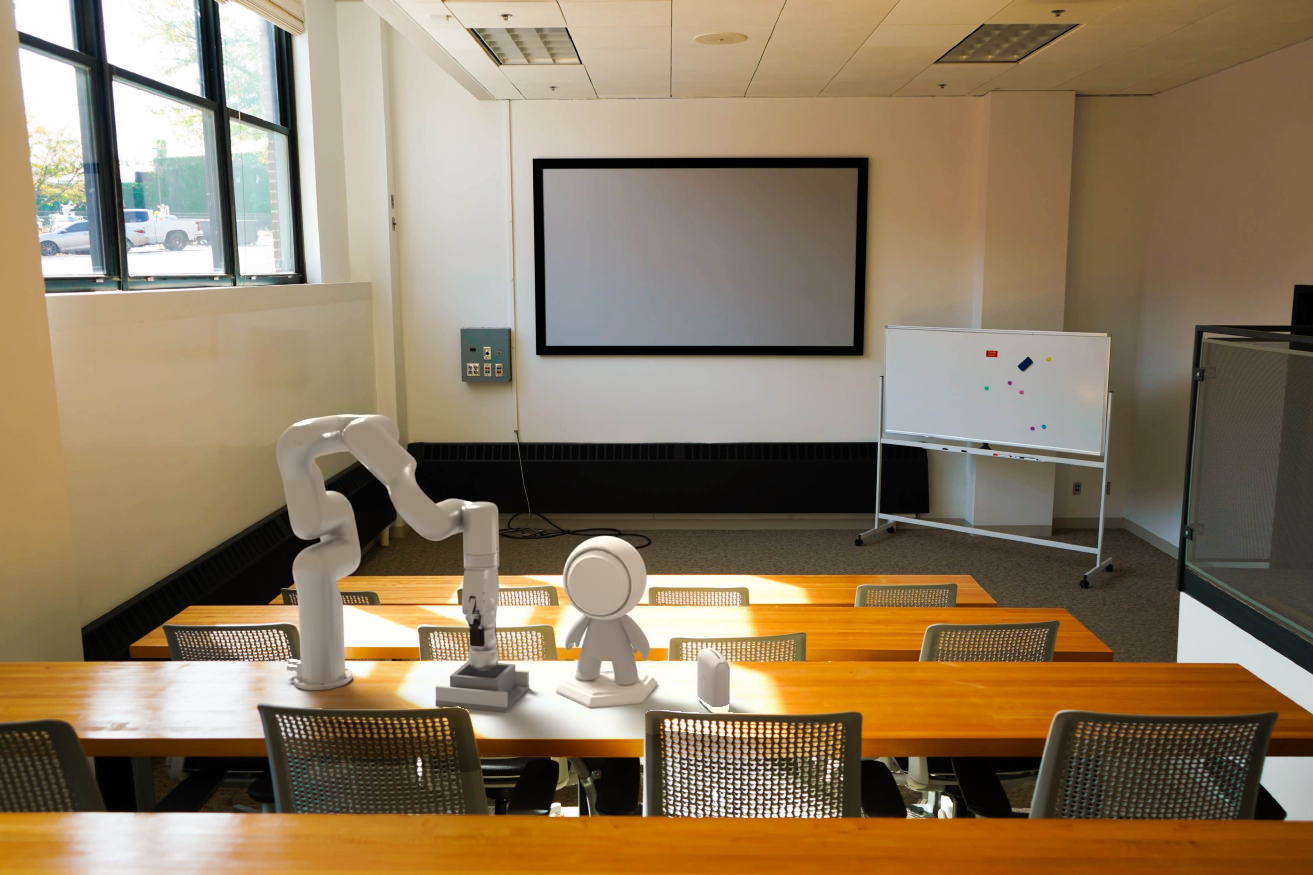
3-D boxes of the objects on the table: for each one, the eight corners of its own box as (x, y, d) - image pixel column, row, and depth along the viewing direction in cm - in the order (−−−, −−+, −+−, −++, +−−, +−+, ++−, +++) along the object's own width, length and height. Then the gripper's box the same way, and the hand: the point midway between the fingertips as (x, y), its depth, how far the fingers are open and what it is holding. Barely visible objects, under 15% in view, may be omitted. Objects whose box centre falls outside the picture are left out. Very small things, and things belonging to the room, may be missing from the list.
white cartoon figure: (545, 702, 209) (544, 543, 205) (583, 666, 231) (583, 522, 227) (633, 713, 204) (634, 550, 200) (664, 675, 226) (665, 528, 221)
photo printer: (694, 699, 212) (695, 644, 210) (712, 696, 213) (713, 642, 212) (713, 717, 202) (714, 659, 201) (732, 714, 204) (732, 657, 202)
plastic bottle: (502, 664, 215) (500, 576, 212) (494, 675, 208) (492, 584, 206) (473, 663, 215) (472, 575, 213) (464, 674, 209) (462, 583, 206)
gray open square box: (435, 705, 207) (435, 678, 207) (462, 681, 221) (462, 656, 220) (505, 712, 204) (505, 684, 203) (529, 688, 217) (529, 662, 217)
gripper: (481, 549, 218) (482, 628, 220) (448, 568, 201) (450, 652, 203) (512, 551, 216) (513, 630, 218) (481, 570, 200) (483, 655, 202)
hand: (483, 640), depth 211 cm, fingers closed on plastic bottle, 5 cm apart
